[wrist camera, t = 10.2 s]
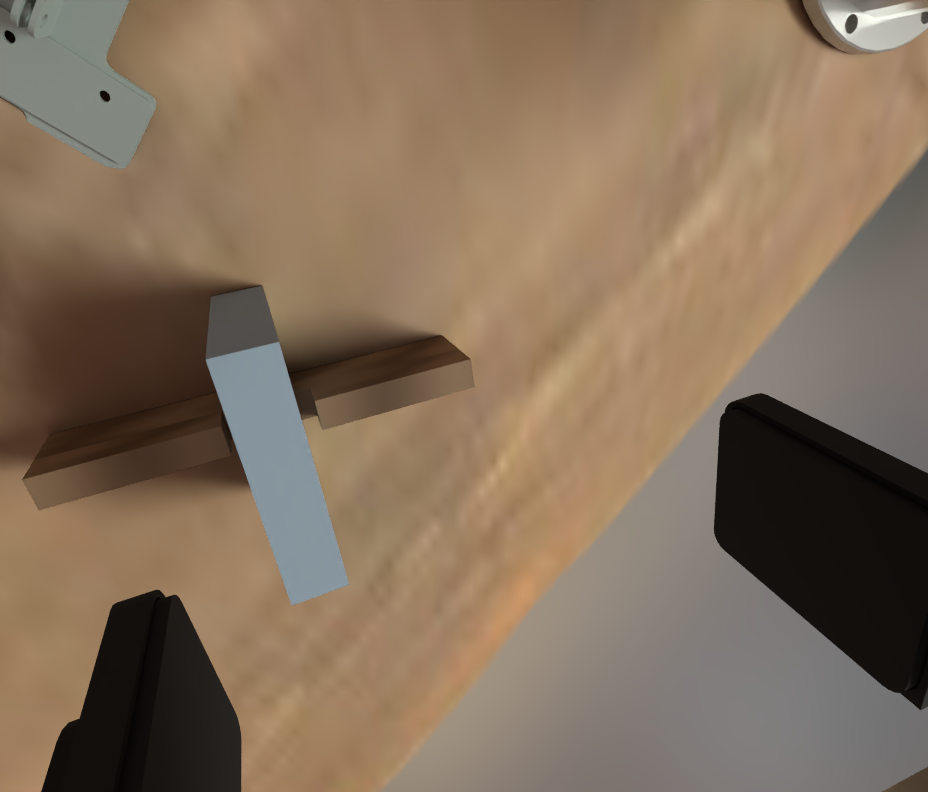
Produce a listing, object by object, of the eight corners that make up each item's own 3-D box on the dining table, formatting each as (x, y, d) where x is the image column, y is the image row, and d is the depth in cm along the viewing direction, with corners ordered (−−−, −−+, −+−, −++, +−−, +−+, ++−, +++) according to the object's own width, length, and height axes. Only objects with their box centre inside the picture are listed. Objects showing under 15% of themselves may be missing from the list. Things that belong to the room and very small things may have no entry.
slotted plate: (210, 296, 26) (205, 359, 18) (262, 285, 26) (278, 341, 18) (273, 487, 30) (291, 605, 22) (317, 474, 30) (349, 584, 23)
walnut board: (442, 335, 30) (470, 359, 27) (446, 360, 31) (474, 387, 27) (50, 434, 25) (21, 479, 22) (63, 462, 26) (38, 510, 22)
